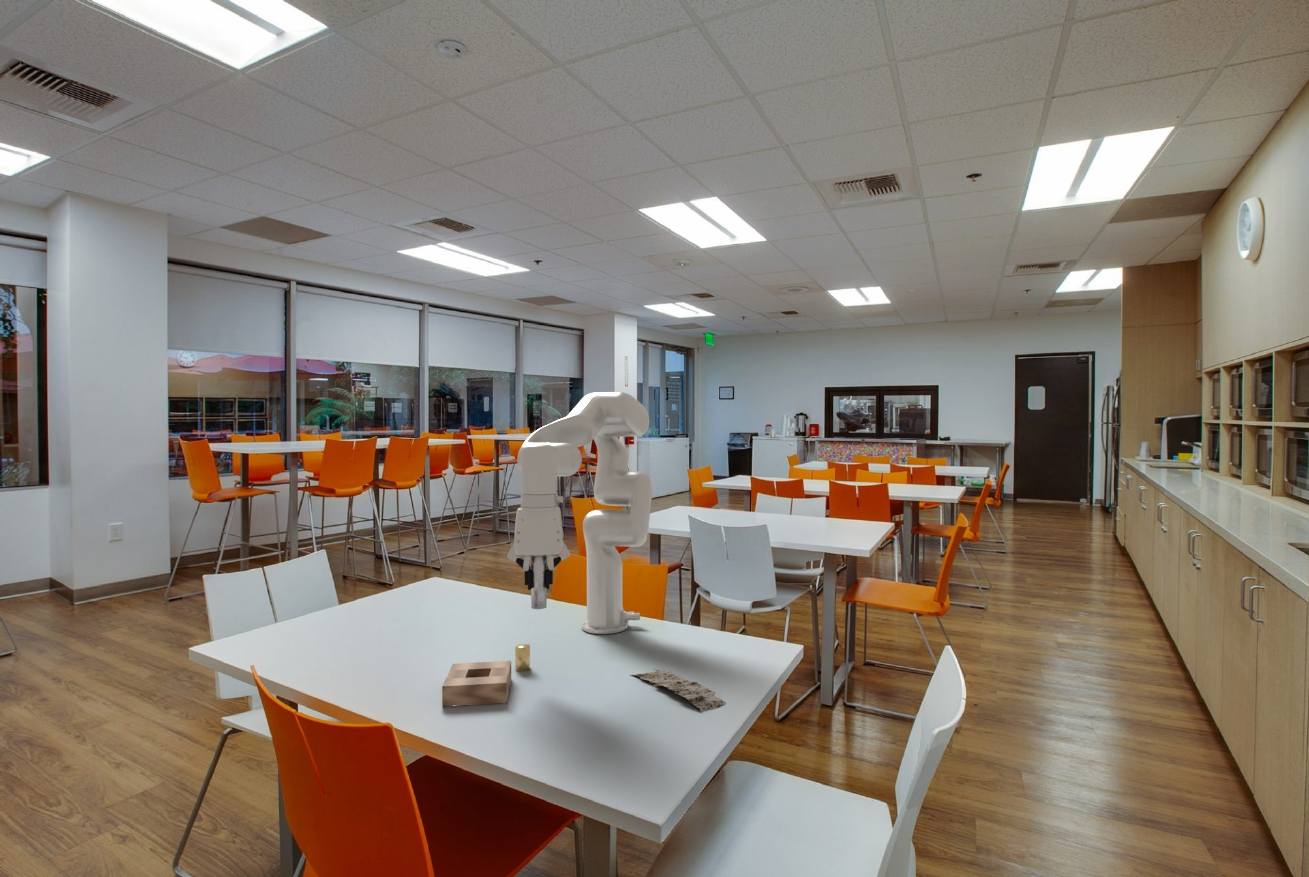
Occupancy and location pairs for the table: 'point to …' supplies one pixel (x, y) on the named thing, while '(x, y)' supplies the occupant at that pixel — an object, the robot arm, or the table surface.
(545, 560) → the long pin
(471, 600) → the table surface
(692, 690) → the stone fragment
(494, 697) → the socket block
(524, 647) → the short pin
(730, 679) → the table surface
